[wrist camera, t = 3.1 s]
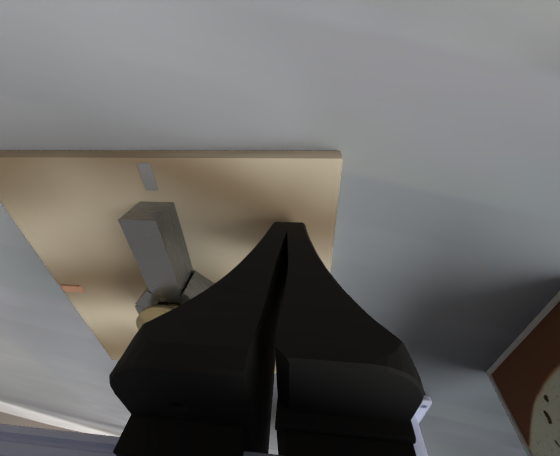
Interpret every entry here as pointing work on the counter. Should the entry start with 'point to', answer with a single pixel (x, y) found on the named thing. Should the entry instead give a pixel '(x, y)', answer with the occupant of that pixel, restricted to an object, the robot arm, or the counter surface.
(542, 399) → the food container
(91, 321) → the plate
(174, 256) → the t key
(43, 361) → the counter surface
